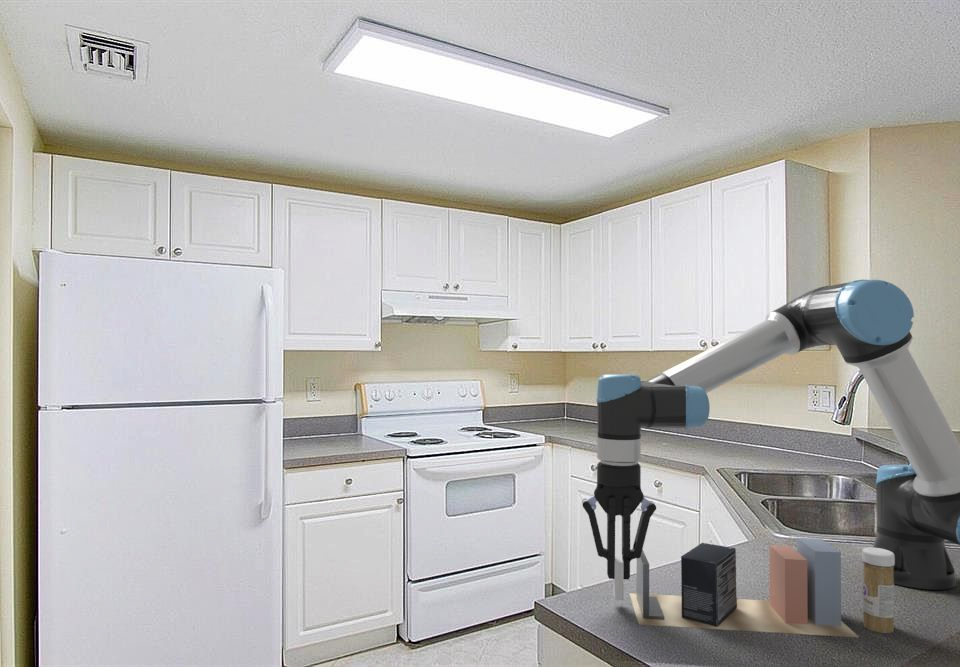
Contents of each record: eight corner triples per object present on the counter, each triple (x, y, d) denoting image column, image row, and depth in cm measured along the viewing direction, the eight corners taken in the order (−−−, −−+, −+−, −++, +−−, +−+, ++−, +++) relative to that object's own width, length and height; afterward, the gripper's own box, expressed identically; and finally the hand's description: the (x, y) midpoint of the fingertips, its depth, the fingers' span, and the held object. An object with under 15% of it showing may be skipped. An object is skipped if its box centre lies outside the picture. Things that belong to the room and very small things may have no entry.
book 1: (790, 605, 115) (790, 545, 115) (807, 624, 107) (807, 560, 107) (769, 604, 115) (769, 545, 116) (785, 623, 108) (785, 559, 108)
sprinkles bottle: (856, 627, 109) (856, 546, 109) (884, 627, 109) (883, 546, 109) (873, 639, 104) (872, 554, 104) (901, 639, 104) (901, 555, 104)
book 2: (821, 607, 114) (821, 538, 115) (841, 626, 106) (840, 552, 107) (797, 606, 115) (797, 537, 115) (815, 624, 107) (815, 551, 107)
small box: (700, 599, 118) (700, 540, 118) (738, 608, 114) (737, 547, 114) (678, 617, 109) (679, 554, 110) (718, 627, 105) (718, 562, 106)
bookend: (656, 599, 117) (656, 549, 118) (664, 619, 108) (664, 565, 109) (636, 598, 118) (636, 548, 118) (642, 618, 109) (643, 564, 109)
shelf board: (822, 609, 116) (822, 603, 116) (859, 643, 102) (859, 637, 102) (629, 598, 120) (629, 593, 120) (638, 630, 106) (638, 624, 106)
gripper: (653, 459, 117) (653, 591, 117) (580, 457, 119) (580, 587, 118) (659, 466, 110) (659, 607, 109) (582, 464, 112) (581, 603, 111)
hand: (618, 597), depth 114 cm, fingers closed
